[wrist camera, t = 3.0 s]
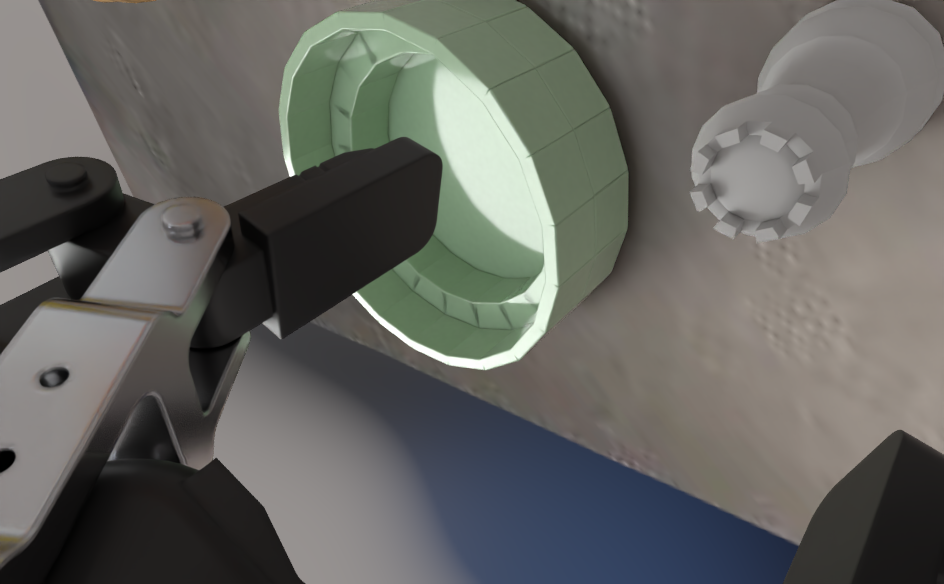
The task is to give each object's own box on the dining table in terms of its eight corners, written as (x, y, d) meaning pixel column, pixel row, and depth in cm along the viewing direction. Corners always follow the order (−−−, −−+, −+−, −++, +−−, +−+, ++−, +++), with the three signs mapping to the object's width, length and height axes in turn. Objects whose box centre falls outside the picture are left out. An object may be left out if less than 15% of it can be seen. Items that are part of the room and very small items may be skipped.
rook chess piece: (949, -33, 15) (862, 52, 10) (955, 144, 17) (882, 287, 12) (759, 17, 18) (627, 99, 14) (780, 161, 20) (669, 280, 15)
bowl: (370, -68, 26) (260, -47, 23) (695, 66, 20) (609, 121, 17) (369, 216, 37) (294, 259, 34) (582, 360, 31) (516, 428, 28)
